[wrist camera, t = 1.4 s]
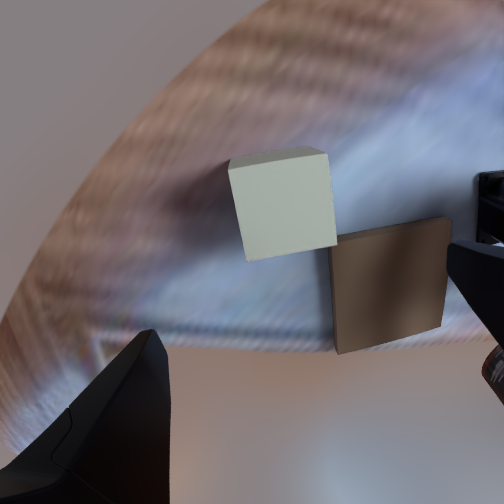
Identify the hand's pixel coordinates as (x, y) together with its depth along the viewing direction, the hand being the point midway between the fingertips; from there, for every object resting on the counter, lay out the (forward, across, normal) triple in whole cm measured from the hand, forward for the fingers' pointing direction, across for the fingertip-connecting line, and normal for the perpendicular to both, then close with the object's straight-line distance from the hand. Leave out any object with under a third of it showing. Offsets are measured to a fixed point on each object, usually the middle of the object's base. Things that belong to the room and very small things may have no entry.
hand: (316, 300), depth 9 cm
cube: (+13, -1, 0) cm, 13 cm away
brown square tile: (+12, -9, +10) cm, 18 cm away
